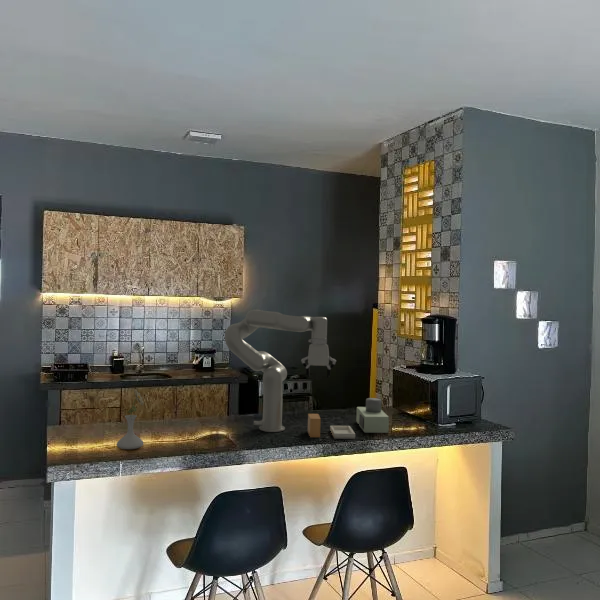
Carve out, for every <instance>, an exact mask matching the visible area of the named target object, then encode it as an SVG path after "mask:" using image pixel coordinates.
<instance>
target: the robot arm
mask: <svg viewBox="0 0 600 600" xmlns="http://www.w3.org/2000/svg"><path fill="white" fill-rule="evenodd" d="M259 328H264V329H271V330H273V329H274V330H280V331H286V332H287V331H288V332H298V333H304V332H307V331H311V338H310V339H308V343H310V344H309V348H308V354H307V356H306V357H303V358H301V360H300V362H301V364H302V366H304V367H305V369H306V371H305V374H306V376H307V378H309V377H310V376H311V374H310V373H311V372H310V370H311V368H310V366H316V367H317V366H321V367H322V366H323V367H327V369H326V370H327V371H326V372H327V373H326V376H327V377H326V378H330V376H331V369H332V368H334V367H335V365H336V362H337V360H336V359H335V358H332V357H331V356H330V350H329V344H328V318H327V317H325V316H310V315H302V316H297V315H289V314H288V315H287V314H284V313H281V312H279V311H271V310H270V311H269V310H268V311H267V310H262V309H251V310H248V311H247V313H246V314H245V318H243V319H242V320H241V321H240V322H237V323H232V324H230V325H229V326H228V327H227V328H226V330H225V334H224V341H225V344H226V347H227V348H228V349H229V351H230V352H231V353H233V355H235V356H236V357H237V358H239V360H241V361H242V363H244V364H245V365H247V366H248V367H249V368H250V369H251V370H253V372H262V373H263V375H262V385H263V388H262V389H263V394H262V395H263V397H262V398H263V400H262V401H263V402H262V403H263V405H262V419H261V420H253V426H254V425H255V426H258V427H259V428H258V429H259V430H260V431H263V432H266V433H267V432H268V433H278V432H282V431H285V429H286V427H285V426H284V425H283V423H282V422H283V400H284V399H283V393H284V392H283V390H284V389H283V381H285V380H286V379H287V376H288V371H287V368H286V367H285V365H283V364H282V363H281V362H280V361H278V360H277V359H276V358H275V357H274V356H272V355H271V354H270V353H268V351H267V352H266V351H264V350H259V351H258V350H256V349H255V348H254V347H253V346H252V345H251V344H249V343H248V342H246V341H245V340H244V339H246V338H247V337H249V336H250V335H252V334H253V333H254V332H256V330H258V329H259ZM306 360H307V363H306ZM330 361H331V362H332V363H331V364H329V363H330Z"/></svg>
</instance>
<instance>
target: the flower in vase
mask: <svg viewBox="0 0 600 600" xmlns="http://www.w3.org/2000/svg"><path fill="white" fill-rule="evenodd" d="M133 392H134V396H135V399H134V401H133V403H132V406H131V408H129V409H128V411H127V413H130V414H126V415H124V417H125V419H126V422H127V432H126V433H125V435H123V437H121V438H120V439H119V440H118V441H117V442H116V447H117V448H119V449H121V450H135V449H139V448H141V447H143V446H144V444H145V443H144V441H143V440H142V438H140V437H139V436H138V435H136V434H135V432H134V423H135V420H136V418H137V415H136V414H133V413H134V412H137V410H138V409H137V407H136V406H135V402H136V401H137V402H138V403H139V405H141V406H144V404H145V402H144V399H143V397H142V395H141V393H140V392H138V388H137V389H136V388H135V389H134V391H133Z"/></svg>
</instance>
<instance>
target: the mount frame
mask: <svg viewBox="0 0 600 600" xmlns="http://www.w3.org/2000/svg"><path fill="white" fill-rule="evenodd" d="M330 431H331V432H330ZM329 432H330V434H331V433H332V434H331V435H332V437H333V439H334V440H337V439H338V440H339V439H340V440H345V439H346V440H355V439H356V433H355V431H354V430H353V428H352V427H351V426H350V425H330V426H329Z"/></svg>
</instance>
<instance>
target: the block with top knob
mask: <svg viewBox="0 0 600 600" xmlns="http://www.w3.org/2000/svg"><path fill="white" fill-rule="evenodd" d="M389 421H390V416H389V415H387V414H386V413H385V412H384V410H382V399H380V398H378V397H377V398H375V397H368V398H366V399H365V406H357V407H356V423H357V424H359V425H358V426H359V427H360V429H361V430H362V431H363V432H364V434H365V433H371V434H372V433H373V434H374V433H378V434H381V433H382V434H383V433H384V434H389V428H390V427H389V426H390V425H389V424H390V423H389Z"/></svg>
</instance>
